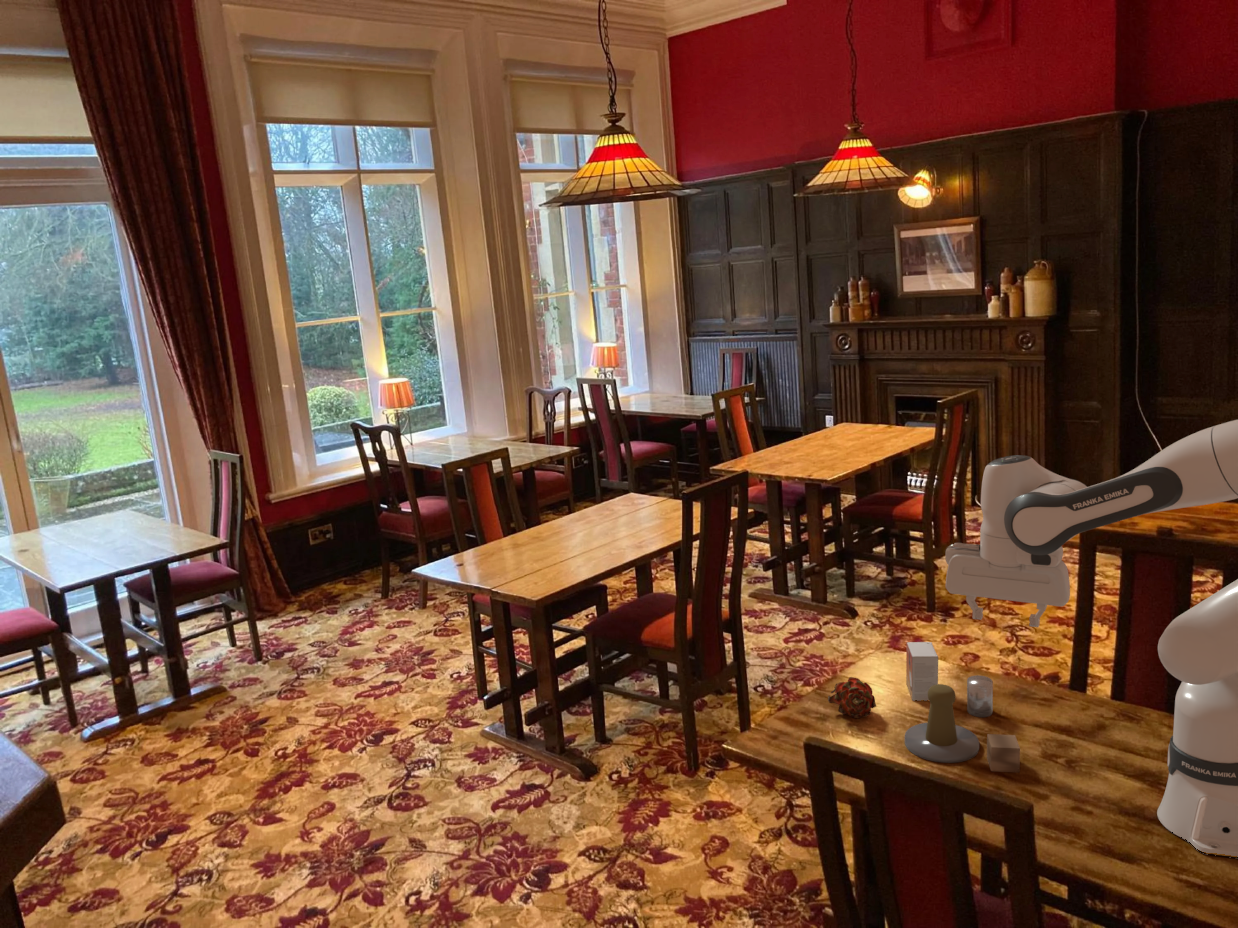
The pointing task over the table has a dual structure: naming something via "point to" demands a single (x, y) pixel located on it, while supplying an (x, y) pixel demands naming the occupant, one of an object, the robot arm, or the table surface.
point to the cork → (941, 716)
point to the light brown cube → (1003, 753)
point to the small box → (921, 669)
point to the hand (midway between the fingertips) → (1005, 621)
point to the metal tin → (979, 696)
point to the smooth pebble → (946, 754)
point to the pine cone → (853, 698)
